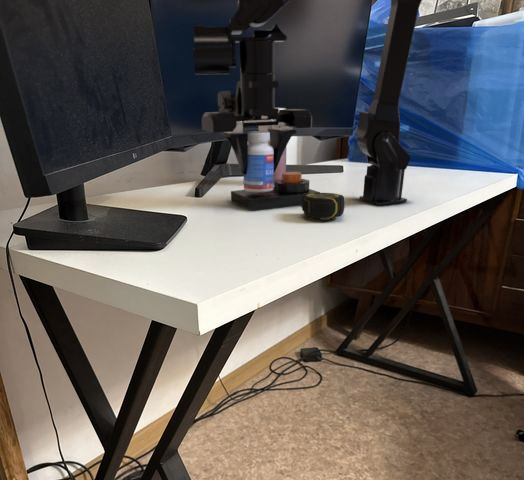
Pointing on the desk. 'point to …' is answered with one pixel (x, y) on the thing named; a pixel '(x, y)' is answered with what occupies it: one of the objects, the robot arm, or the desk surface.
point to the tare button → (291, 177)
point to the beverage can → (282, 163)
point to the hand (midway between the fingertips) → (258, 173)
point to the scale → (273, 196)
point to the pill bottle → (259, 163)
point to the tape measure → (323, 205)
